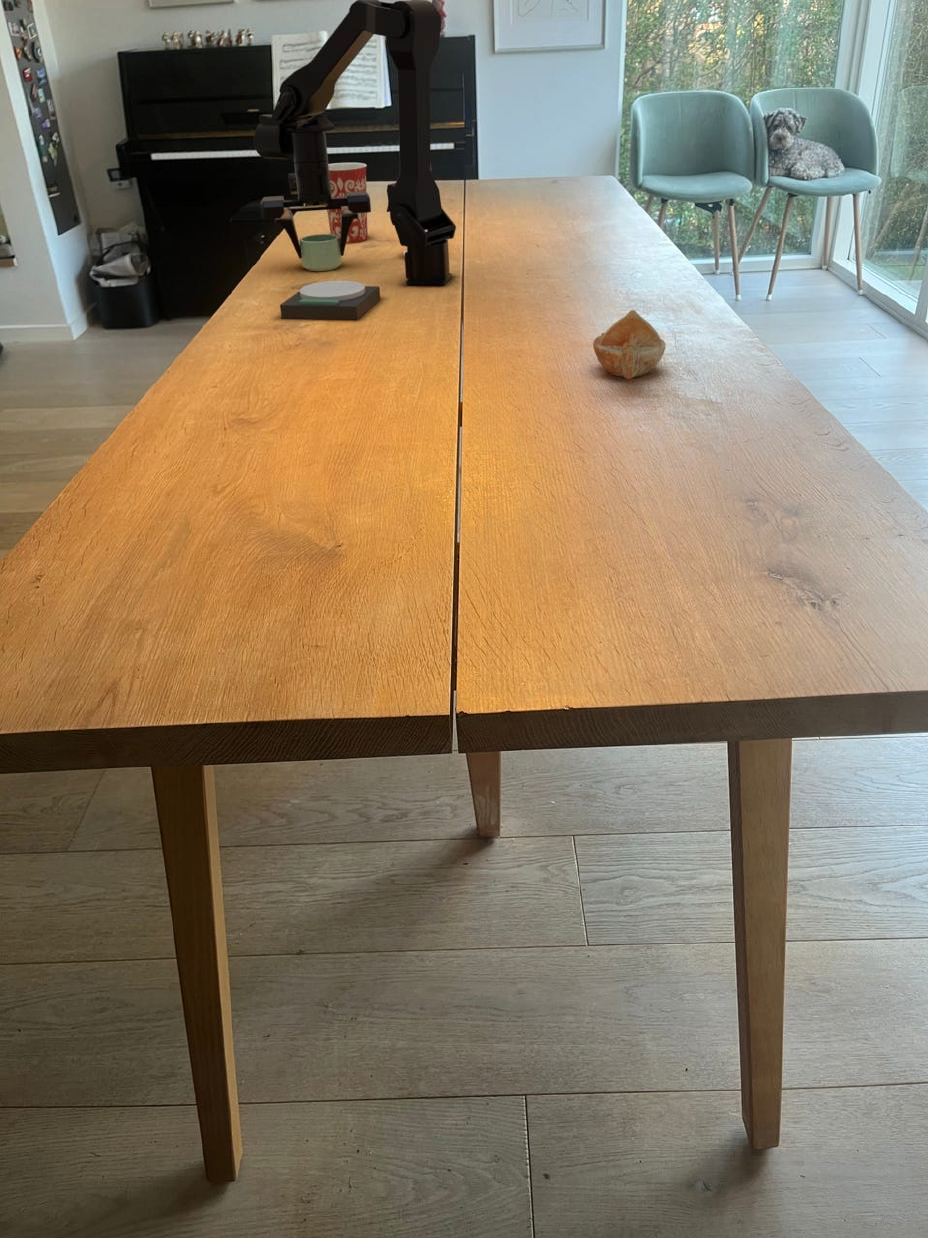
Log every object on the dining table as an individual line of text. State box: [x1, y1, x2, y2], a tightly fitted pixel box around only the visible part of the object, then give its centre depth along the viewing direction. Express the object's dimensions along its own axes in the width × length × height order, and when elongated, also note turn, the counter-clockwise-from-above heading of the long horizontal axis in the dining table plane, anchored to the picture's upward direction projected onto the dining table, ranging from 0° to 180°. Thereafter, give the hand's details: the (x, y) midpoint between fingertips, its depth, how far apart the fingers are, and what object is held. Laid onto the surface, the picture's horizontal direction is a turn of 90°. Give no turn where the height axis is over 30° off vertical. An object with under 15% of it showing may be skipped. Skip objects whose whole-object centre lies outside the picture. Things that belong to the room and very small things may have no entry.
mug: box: [326, 162, 369, 244], centre depth 195 cm, size 13×9×14 cm
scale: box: [279, 280, 381, 321], centre depth 151 cm, size 12×12×3 cm
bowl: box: [298, 233, 343, 272], centre depth 175 cm, size 7×7×5 cm
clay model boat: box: [592, 309, 666, 380], centre depth 119 cm, size 9×21×10 cm, turn 173°
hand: (321, 256), depth 175 cm, fingers closed on bowl, 7 cm apart
